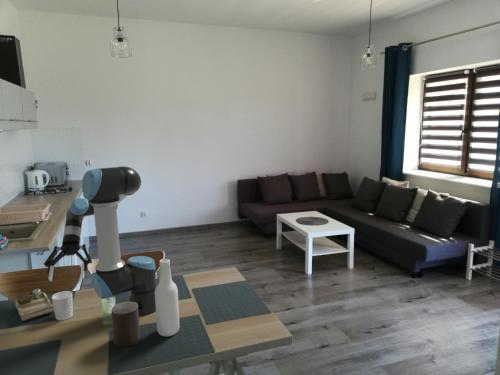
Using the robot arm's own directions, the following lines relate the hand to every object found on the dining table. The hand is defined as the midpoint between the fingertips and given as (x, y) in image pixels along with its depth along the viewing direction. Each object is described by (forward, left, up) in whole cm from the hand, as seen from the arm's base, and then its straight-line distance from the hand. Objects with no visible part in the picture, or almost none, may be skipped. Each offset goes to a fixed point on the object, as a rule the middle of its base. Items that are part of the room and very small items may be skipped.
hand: (66, 279), depth 164 cm
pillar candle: (-43, -10, -13) cm, 47 cm away
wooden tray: (+6, +13, -13) cm, 19 cm away
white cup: (-8, +4, -13) cm, 16 cm away
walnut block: (+11, +16, -10) cm, 22 cm away
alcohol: (-48, -25, -13) cm, 56 cm away
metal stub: (+12, +10, -10) cm, 19 cm away
